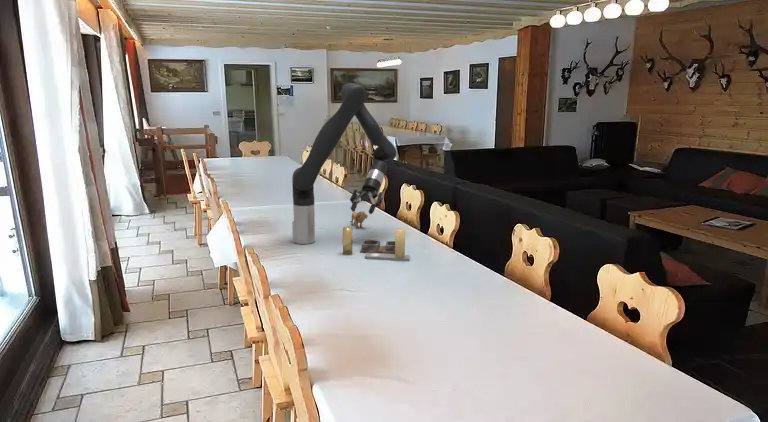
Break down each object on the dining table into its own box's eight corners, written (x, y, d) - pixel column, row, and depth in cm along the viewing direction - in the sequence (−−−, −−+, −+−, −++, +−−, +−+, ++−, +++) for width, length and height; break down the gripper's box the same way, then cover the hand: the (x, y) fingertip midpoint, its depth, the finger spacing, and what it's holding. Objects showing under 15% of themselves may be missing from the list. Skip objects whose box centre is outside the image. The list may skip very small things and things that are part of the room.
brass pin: (342, 254, 209) (342, 228, 207) (343, 251, 213) (343, 226, 211) (351, 255, 209) (351, 229, 206) (353, 252, 213) (353, 226, 210)
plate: (364, 258, 204) (365, 230, 202) (366, 255, 209) (366, 227, 207) (409, 261, 203) (410, 232, 200) (409, 257, 208) (410, 229, 205)
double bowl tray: (360, 252, 212) (360, 244, 212) (362, 247, 220) (362, 239, 219) (402, 254, 211) (403, 246, 210) (404, 249, 219) (404, 241, 218)
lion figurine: (369, 229, 250) (369, 211, 248) (359, 230, 247) (360, 212, 245) (354, 222, 262) (354, 205, 260) (345, 223, 259) (345, 206, 257)
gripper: (356, 175, 225) (343, 205, 218) (385, 178, 219) (373, 209, 212) (362, 185, 231) (349, 214, 224) (390, 188, 225) (378, 218, 218)
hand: (361, 212), depth 218 cm, fingers open, 8 cm apart
